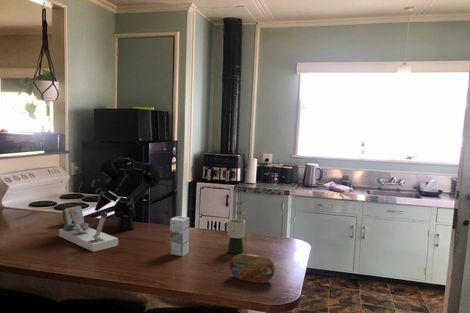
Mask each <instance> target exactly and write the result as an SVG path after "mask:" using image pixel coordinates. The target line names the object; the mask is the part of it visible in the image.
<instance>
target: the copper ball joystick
mask: <svg viewBox="0 0 470 313" xmlns="http://www.w3.org/2000/svg"><path fill="white" fill-rule="evenodd" d="M68 213H69V214H70V215H71V217H72V219H73V222H74V224H75V226H76V229H77V230H76V231H77V232H79V233H83V230H82V229H81V227H80V225H79V222H78V220H77V218H76V215H75V210H74V209H70V210H69V211H68Z"/></svg>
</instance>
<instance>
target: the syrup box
mask: <svg viewBox="0 0 470 313" xmlns="http://www.w3.org/2000/svg"><path fill="white" fill-rule="evenodd" d="M169 224H170V225H169V226H170V230H169V232H170V234H169V237H170V238H169V255H170V256H176V257H177V256H178V257H184V256H186V255H188V254H189V251H190V250H189V248H190V246H189V244H190V242H189V240H190V237H189V236H190V217H185V216H174V217H172V218H171V219H170V223H169Z"/></svg>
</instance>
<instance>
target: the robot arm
mask: <svg viewBox="0 0 470 313" xmlns="http://www.w3.org/2000/svg"><path fill="white" fill-rule="evenodd" d="M99 169H100V171H101V173H102V174H104V175H105V176H107V177H109V178H108V179H107V180H105V181H104V179H101V178H98V180H96V179H92V183H91V187H92V188H97V189H96V190H95V194H97V197H98V199H97V202H96V205H95V207H94V211H95V212H98V211H100V210H101V209H103V208H104V207H106V206H107V205H108V204H110V203H112V202H115V204H114V205H113V212H114V215H115V218H117V225H116V226H117V227H115V229H116V230H117V231H121V232H128V231H132V230H135V227H134V219H135V218H136V216H137V211H136V210H135V204H136V203H138V201H139V200H140V199H141V198H142V197H143V196H144V195H145V194H146V193H147V192H148V190H149V189H153V188H155V187H157V186H158V185H159V184H160V182H161V177H160V174H159V172H158V171H157V170H156V169H155V168H154V166H153V165H152V164H151V163H148V162H147V163H145V162H139V161H135V160H134V159H132V158H130V157H117V159H115V161H114V160H113V159H109V158H107V161H104V162H103V163H102V164H101V165H100V168H99ZM131 170H132V171H133V170H139V171H141V178H142V181H141V183H140V184H139V185H138V186H137V187H136V188H135V189H133V191H132V192H131V193H130V194H129V195H128V196H127V197H123V196H122V197H120V198H119V197H118V195H117V194H116V192H117V191H118V190H120V189H121V185H122V183H123V182H124V180H125V179H129V178H130V175H129V172H128V171H131ZM147 172H149V173H147ZM118 198H119V199H118Z"/></svg>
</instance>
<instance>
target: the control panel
mask: <svg viewBox="0 0 470 313" xmlns="http://www.w3.org/2000/svg"><path fill="white" fill-rule="evenodd" d="M76 230H77V229H76V226H75V227H74V228H69V229H67V228H64V227H63V228H60V229H58V236H59V237H61V238H62V239H65V240H67V241H69V242H71V243H73V244H76V245H77V246H80V247H82V248H84V249H87V250H88V251H91V252H97V251H101V250H105V249H110V248H114V247H117V246H119V238H118V237H116V236H113V235H110V234H107V233H105V232H102V231H101V233H100V236H99V237H100V240H96V239H93V236H94V235H95V233H96V230H97V229H94V228H91V227H89V226H88V229H84V230H83V233H79V232H77V231H76Z"/></svg>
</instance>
